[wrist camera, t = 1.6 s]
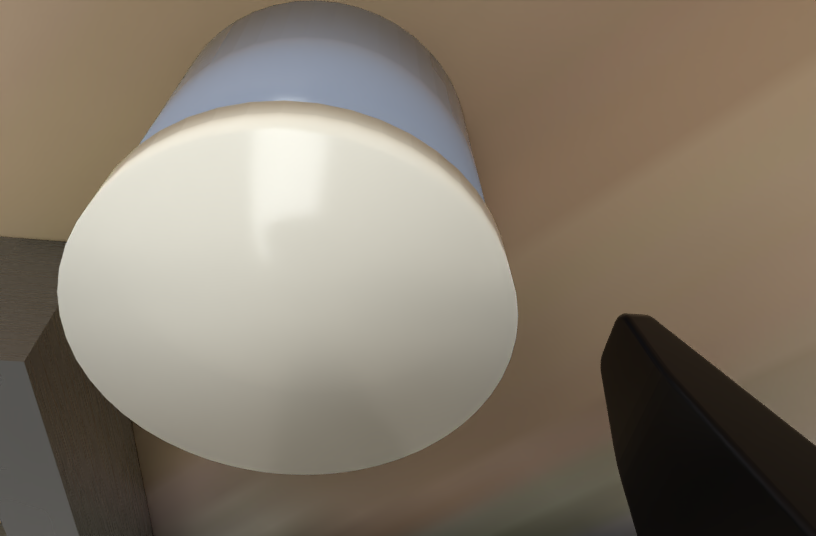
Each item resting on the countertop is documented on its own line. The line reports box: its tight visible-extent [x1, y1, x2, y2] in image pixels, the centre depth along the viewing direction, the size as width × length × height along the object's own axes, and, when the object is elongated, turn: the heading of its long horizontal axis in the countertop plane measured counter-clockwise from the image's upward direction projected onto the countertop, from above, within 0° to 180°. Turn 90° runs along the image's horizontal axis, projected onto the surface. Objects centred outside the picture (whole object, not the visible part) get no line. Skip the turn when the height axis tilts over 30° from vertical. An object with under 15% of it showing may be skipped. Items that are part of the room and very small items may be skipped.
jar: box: [57, 1, 518, 475], centre depth 11 cm, size 6×6×5 cm
